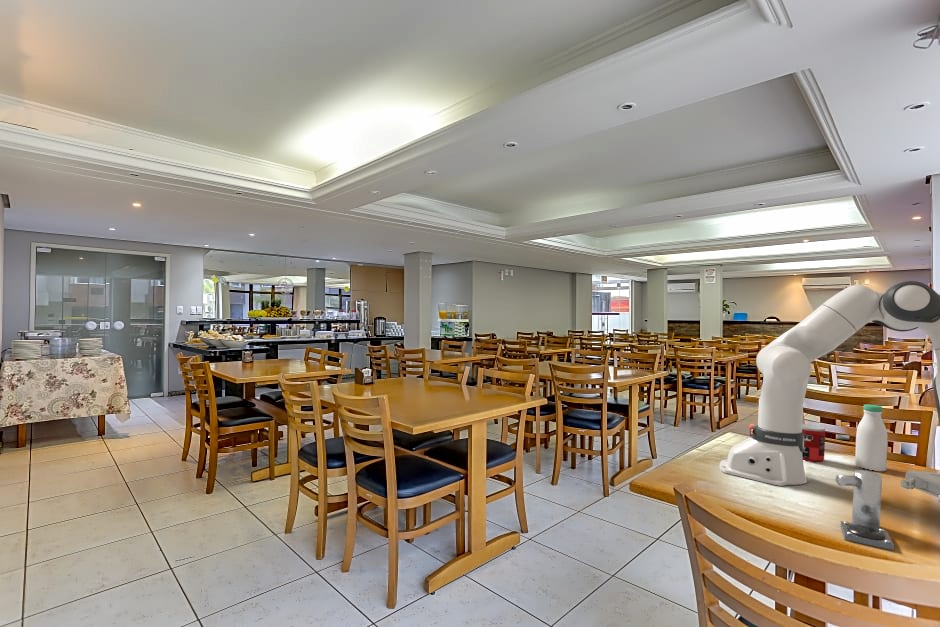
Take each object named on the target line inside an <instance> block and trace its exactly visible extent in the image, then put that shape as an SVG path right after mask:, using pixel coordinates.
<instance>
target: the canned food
mask: <svg viewBox="0 0 940 627" xmlns="http://www.w3.org/2000/svg"><path fill="white" fill-rule="evenodd" d="M802 431H803V433H804V449H803V451H802V457H803V460H805V461H804V462H808V461H809V462H810V463H816V462H820V463H823V462H824V461H825V449H826V448H825V447H826V428H825V427H823V426H821V425H816V424H809V423H802ZM809 462H808V463H809Z"/></svg>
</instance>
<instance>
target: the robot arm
mask: <svg viewBox="0 0 940 627" xmlns="http://www.w3.org/2000/svg"><path fill="white" fill-rule="evenodd" d="M871 322H872V323H874V324H877V325H878V326H882V327H884V328H886V329H887V330H888V329H889V330H891V331H895V332H901V333H902V332H911V331H913V330H917V329H920V330H922V331H923V332H924V333H925V334H926V335H927V336H928V338H929V339H930V340H931V344H932V348H933V350H934V354H935V357H936V363H937V364H936V366H937V368H936V370H937V371H936V375H935V377H934V379H933V384H932V386H933V396H934V400H935V407H936V411H937V417H938V423H939V425H940V293H938V292H936V290H934V289H933V288H932V287H931V286H929V285H928V284H926V283H924V282H920V281H916V280H905V281H902V282H898V283H896V284H894V285H892V286H890V287H889V288H888V289H887V290H886V291H885V292H878V291H874V289H872V288H871V287H868V286H865V285H861V284H853V285H849V286H848V287H845V288H844V289H842V290H841V291H839V292H837V293H835V294H834V295H832V296H831V297H830V298H829V299H827V300H826V301H824V302H823V303H822V304H821V305H820V306H818V307H817V308H816V309H815V310H813V311H812V312H811V313H810V314H809V315H807V316H805V318H804V319H803V320H801V321H799V322H798V323H796V325H795V326H793V327H791V328H790V329H788V330H787V331H786V332H783V333H782V334H781V335H779V336H778V337H777V338H775V339H774V340H773V341H771V342H770V343H768V344H767V345H765V346H764V347H763V348H761V349H760V351H758V353H757V355H756V360H755V361H756V367H757V369H758V371H759V372H760V373H761V374H762V375H763V376H762V377H763V379H762V385H761V391H760V396H759V398H758V408H757V409H758V412H757V415H758V416H757V424H756V425H755V424H754V423H752V424H749V426H748V430H749V437H748V438H745V439H744V440H742V441H739V442H738V443H736V444H734V445H732V447H731V448H730V450H729V452H728V454H727V455H728V456H727V458H725V459H722V460H721V461H720V462H719V470H720V471H721V472H722V473H725V474H727V475H732V476H736V477H741V478H745V479H749V480H754V481H757V482H758V481H759V482H761V483H766V484H770V485H774V486H780V487H782V486H783V487H784V486H788V485H795V486H796V485H803V484H806V483H808V478H807V476H806V471H805V466H804V461H803V457H802V451H803V449H804V433H803V431H802V424H803V415H804V414H803V413H804V402H805V398H806V393H807V389H808V385H809V378H810V376H811V374H812V370H813V369H812V364H811V363H812V362H815V361H816V360H817V359H819V358H821V357H823V356H824V355H826V354H829V353H831V352H832V351H834V350H835V349H837V347H839V346H840V345H841V344H843V343H844V342H845V341H847V340H848V339H849V338H850V337H852V336H853V335H854V334H856V333H857V332H858V331H860V329H862V328H864V326H865V325H867V324H869V323H871ZM900 487H901V488H904V489H906V490H914V489H916V490H919V491H920V492H923V493H926V494H928V495H930V496H933V497H936V498H938V502H939V503H940V472H935V471H926V470H924V471H923V470H907V471H906V472H905V479H901V481H900Z"/></svg>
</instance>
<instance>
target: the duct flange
mask: <svg viewBox="0 0 940 627" xmlns="http://www.w3.org/2000/svg"><path fill="white" fill-rule="evenodd" d="M840 528H841V533H842V535H843V538H844V540H845V541H848V542H852V543H856V544H861V545H865V546H870V547H875V548H879V549H883V550H887V549H888V551H892V550H893V551H895V550H894V549H895V545H894V543H893V540H892V538H891V536H890V534H889V533H888V531H887V530H886V529H884V528H880V529H877V528H872V527H867V526H863V525H858V524H853V523H852V522H848V521H846V520H845V521H842V520H840Z"/></svg>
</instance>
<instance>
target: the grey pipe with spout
mask: <svg viewBox="0 0 940 627" xmlns="http://www.w3.org/2000/svg"><path fill="white" fill-rule="evenodd" d="M835 482H836V484H837V486H839V487H852V488H853V489H852V510H851V512H852V513H851V515H852V516H851V523H853V524H858V525H863V526H867V527H872V528H877V529H881V512H882V510H881V509H882V489H883V488H882V485H883V484H882V483H883V476H882V475H881V474H880V473H876V472H875V471H870V470H862V469H860V470H859V469H857V470H856V469H855V470H853V475H851V474H849V475H848V474H837V475H836V476H835Z"/></svg>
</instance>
